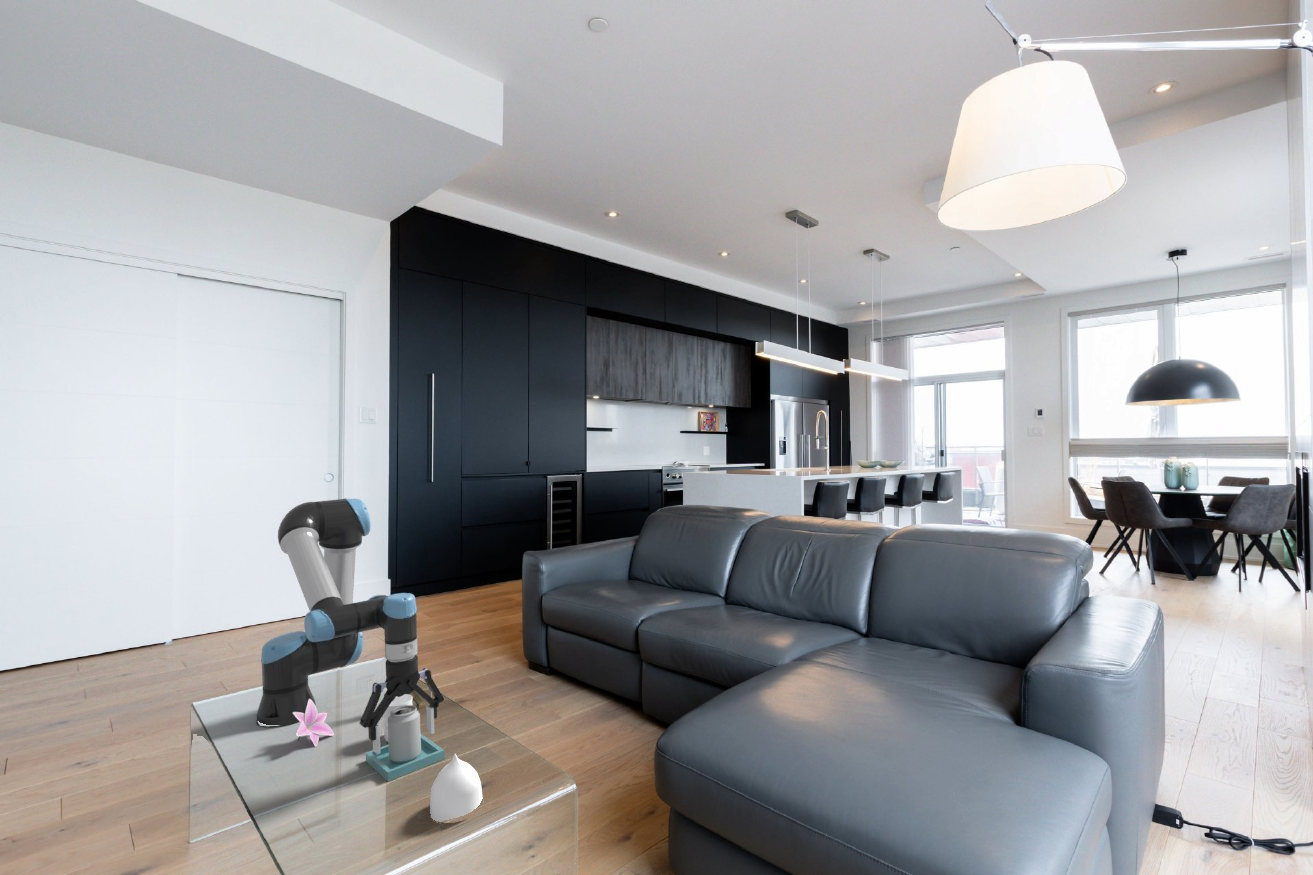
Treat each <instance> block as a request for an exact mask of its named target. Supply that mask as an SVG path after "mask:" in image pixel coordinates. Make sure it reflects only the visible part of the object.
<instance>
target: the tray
mask: <svg viewBox="0 0 1313 875" xmlns="http://www.w3.org/2000/svg"><path fill="white" fill-rule="evenodd" d="M380 751H381V753H380V754H376V753H375V752H374V751H373V749H372V750H370V751H366V752H365V762H366V763H367V764H369V766H371V767H372V768H373V769H374V770H375V771H376V772H377V773H378V774H379V775H380V776H382V778H383V779H385V780H386V781H387V782H390V781H393V780H396V779H397V778H401V777H403V776H405V775H408V774H410V773H412V772H415V771H417V770H420V769H422V768H425V767H428V766H430V765H432V764H434V763H438V762H440V761H442V760H444V759H445V750H444V749H443V748H442V747H440V746H439V745H438V744H436V743H435V742H433V741H432V740H431V739H429V738H428V737H427V736H425V735H424V734H422V733H421V753H420V754H419V755H418V756H417V757H416V758H415V759H414V760H412V761H410V762H407V763H395V762H393V761H392V760H390V759H389V744H385V745H383V746H380Z"/></svg>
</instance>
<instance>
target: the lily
mask: <svg viewBox="0 0 1313 875" xmlns="http://www.w3.org/2000/svg"><path fill="white" fill-rule="evenodd" d="M316 706H317V705H316ZM316 706H315V704H314V703H313V701H312V700H311V699H309V700H308V704H307V708H306V712H305V714H304V713H301V712H293V714H294V715H295V717H296V718H297V719H298V720H299V723H300V724H299V726H298V728H297V731H296V733H295V735H296V737H298V739H297V742H298V741H300V738H301V737H305V736H309V738H310V740H311V741H312V743H313V745H314V747H317V746H318V743H319V739H320V736H330V737H332V736H335V733H334V731H333V729H332V728H331V727H330V725H328V724H327V723H326V722H325V721H326V719H327V716H328V713H327V712H319V713H318V708H317V707H316Z"/></svg>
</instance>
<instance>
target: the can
mask: <svg viewBox="0 0 1313 875" xmlns="http://www.w3.org/2000/svg"><path fill="white" fill-rule="evenodd" d="M417 709H418V708H417V707H416V705H414V704H413V705H405V706H400V707H397V708H395V709H393V710H392V711H391V712H390V714H391V715H390V716H389V717H388V742H387V743H388V744H389V759H390V760H392V761H393V762H395V763H407V762H410V761H412V760H414V759H415V758H416V757H417V756H418V755H419V754H420V753H421V734H422V733H421V732H422V731H421V714H420V711H419V710H417ZM388 744H387V745H388Z"/></svg>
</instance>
